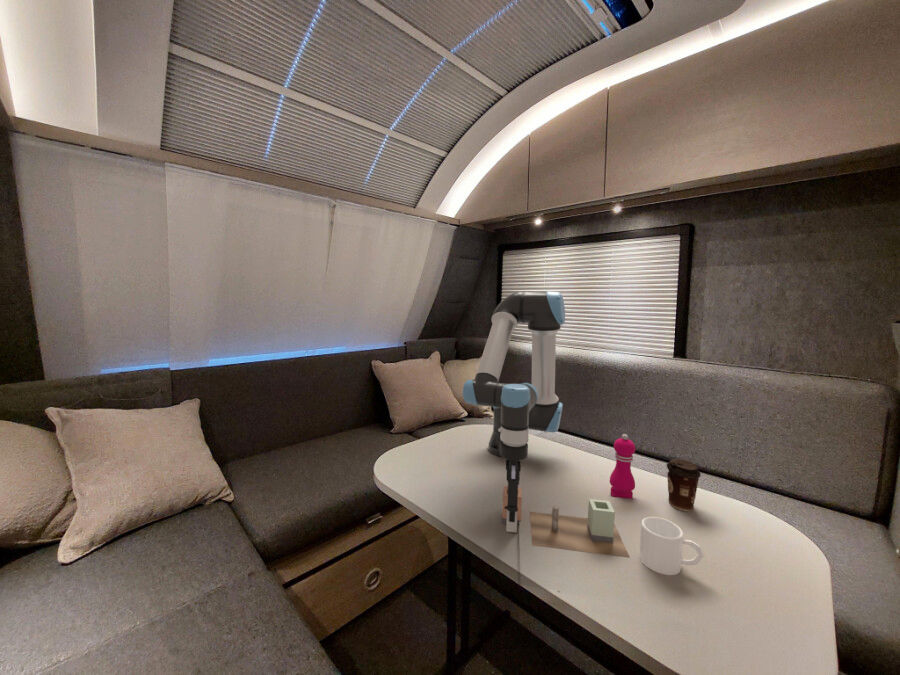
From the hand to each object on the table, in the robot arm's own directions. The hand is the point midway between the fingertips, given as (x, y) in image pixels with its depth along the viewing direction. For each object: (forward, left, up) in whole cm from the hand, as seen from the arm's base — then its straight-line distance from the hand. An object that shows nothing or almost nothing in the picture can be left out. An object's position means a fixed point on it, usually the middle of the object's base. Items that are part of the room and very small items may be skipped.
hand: (511, 518), depth 98 cm
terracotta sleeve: (0, 0, 0) cm, 0 cm away
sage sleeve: (+5, +22, +1) cm, 23 cm away
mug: (+13, +35, 0) cm, 37 cm away
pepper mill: (-19, +34, 0) cm, 39 cm away
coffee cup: (-17, +50, 0) cm, 53 cm away
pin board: (+5, +16, 0) cm, 17 cm away
